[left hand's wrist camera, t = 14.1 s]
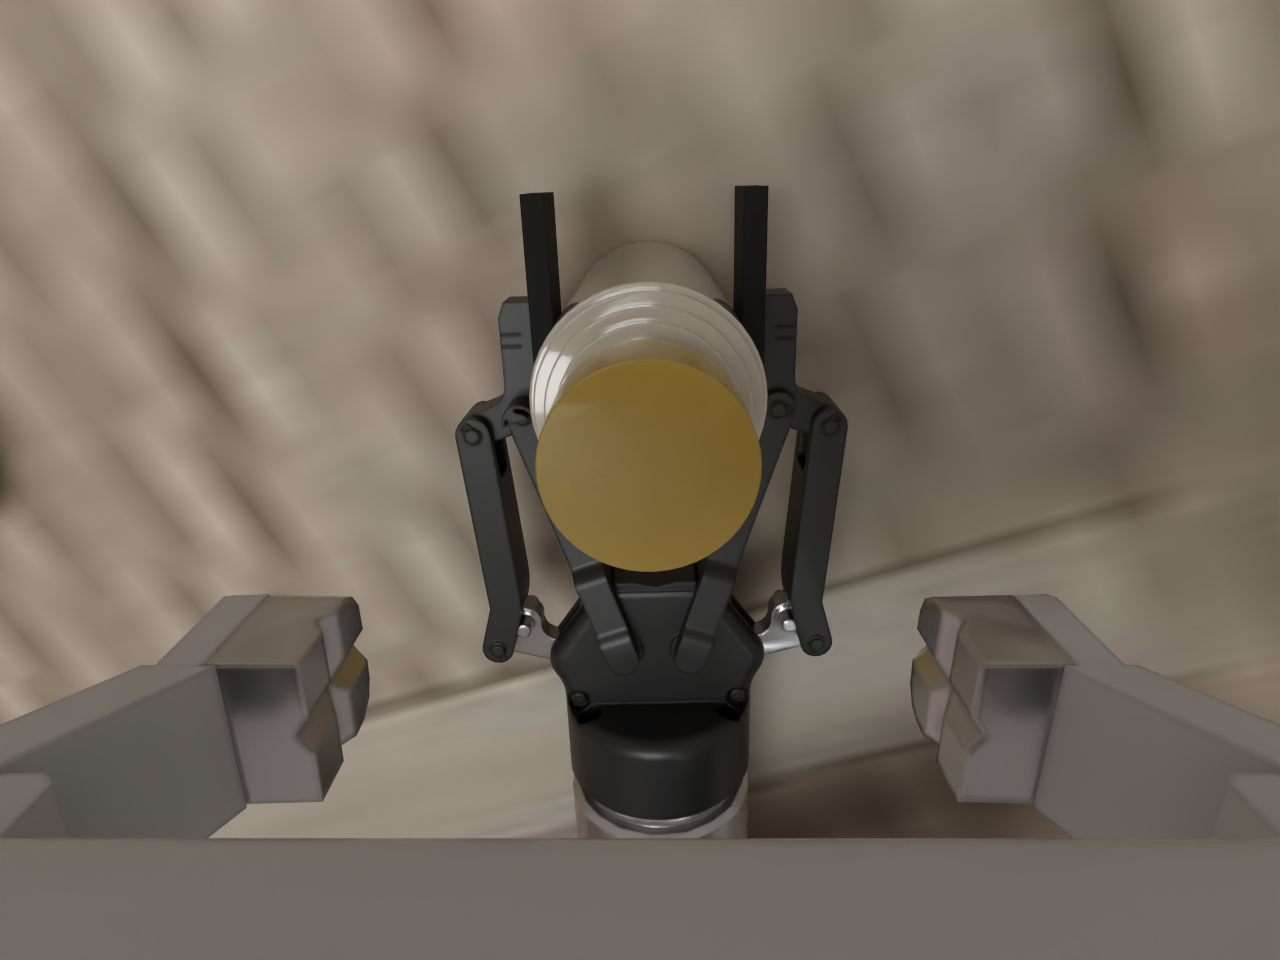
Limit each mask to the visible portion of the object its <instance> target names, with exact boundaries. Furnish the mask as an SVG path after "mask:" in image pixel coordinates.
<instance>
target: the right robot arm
mask: <svg viewBox="0 0 1280 960" xmlns="http://www.w3.org/2000/svg"><path fill="white" fill-rule="evenodd" d="M520 206H521V219H522V231H523V243H524V256H525V268H526V280H527V293H528V296H519V297H509V298H508V299H506V300H505V301H504V302H503V303H502V307H501V310H500V314H499V317H498V322H499V332H500V343H501V353H502V364H503V374H504V385H505V389H504V394H503V395H501V396H499V397H496V398H494V399H491V400H489V401H481V402H478V403H476V404H475V405H474V406H473V407H472V408H471V409H470V411H469V412H468V413H467V415H466V416H465V417H464V418H463V420H462V421H461V422H460V424H459V425H458V427H457V429H456V431H455V438H456V443H457V448H458V453H459V458H460V463H461V467H462V472H463V477H464V482H465V487H466V492H467V497H468V502H469V507H470V512H471V517H472V522H473V527H474V532H475V537H476V542H477V547H478V551H479V556H480V561H481V566H482V571H483V576H484V581H485V586H486V591H487V596H488V601H489V606H490V613H489V618H488V623H487V628H486V633H485V638H484V643H483V652H484V654H485V656H486V657H487V658H488V659H489V660H491V661H494V662H501V663H502V662H505V661H507V660H509V659H510V658H511V657H512V655H513V652H519V653H524V654H529V655H533V656H538V657H543V658H547V659H550V660H551V664H552V667H553V669H554V670H555V672H556V673H557V674H558V676H559V677H560V678H561V680H562V682H563V684H564V686H565V689H566V696H567V709H568V722H569V735H570V748H571V761H572V768H573V772H574V782H573V789H574V800H575V810H576V821H577V832H578V838H747V826H748V773H747V767H748V760H749V718H750V686H751V682H752V679H753V677H754V675H755V673H756V672H757V670H758V669H759V667H760V666H761V664H762V662H763V658H764V655H766V654H770V653H774V652H778V651H782V650H785V649H789V648H793V647H797V646H801V648H802V649H803V651H804V652H805V653H806V654H808V655H811V656H820V655H823V654H825V653H826V652H827V651H828V650H829V649H830V647H831V645H832V638H831V634H830V630H829V626H828V622H827V619H826V615H825V611H824V607H823V603H822V600H823V593H824V586H825V579H826V572H827V566H828V559H829V552H830V545H831V538H832V531H833V524H834V518H835V511H836V504H837V497H838V490H839V483H840V476H841V469H842V463H843V456H844V449H845V442H846V435H847V428H848V424H847V419H846V417H845V415H844V414H843V413H842V412H841V410H840V409H839V408H838V407H837V406H836V404H835V403H834V402H833V401H832V400H831V398H830V397H829V396H828V395H826V394H825V393H822V392H812V391H809V390H806V389H803V388H801V387H798V386H797V385H796V383H795V360H796V334H797V306H796V303H795V301H794V298H793V295H792V293H790V292H789V291H788V290H787V289H785V288H779V289H766V260H767V219H768V186H760V185H751V186H735V226H734V312H735V314H736V315H737V317H738V318H739V320H740V321H741V323H742V325H743V326H744V328H745V329H746V331H747V332H748V334H749V335H750V337H751V339H752V341H753V343H754V344H755V346H756V348H757V350H758V353H759V355H760V358H761V361H762V363H763V367H764V371H765V376H766V381H767V393H768V399H767V412H766V418H765V423H764V427H763V430H762V433H761V436H760V439H759V444H760V449H761V459H762V471H761V481H760V486H759V491H758V494H757V497H756V500H755V503H754V505H753V507H752V509H751V511H750V513H749V515H748V517H747V519H746V520H745V521H744V523H743V524H742V526H741V527H740V529H739V530H738V531H737V532H736V533H735V534H734V535H733V537H732V538H731V539H730V540H728V541H727V542H726V543H725V544H724V545H723V546H722V547H720V548H719V549H718V550H716V551H715V552H713V553H712V554H710V555H709V556H707V557H705V558H703V559H701V560H699V561H697V562H695V563H692V564H689V565H686V566H684V567H680V568H676V569H672V570H665V571H657V572H640V571H632V570H625V569H621V568H617V567H613V566H610V565H608V564H605V563H602V562H600V561H598V560H596V559H594V558H592V557H590V556H588V555H587V554H585V553H584V552H582V551H581V550H579V549H578V548H577V547H575V546H574V545H573V544H572V543H571V542H570V541H569V540H567V539H566V538H565V537H564V535H563V534H562V533H561V532H560V531H559V530H558V529H557V527H556V526H555V524H554V523H553V521H552V520H551V519H550V517H549V515H548V513H547V511H546V509H545V507H544V505H543V503H542V505H543V507H544V509H545V511H546V514H547V516H548V518H549V520H550V523H551V525H552V527H553V530H554V532H555V534H556V536H557V539H558V541H559V543H560V545H561V548H562V550H563V552H564V554H565V557H566V559H567V561H568V564H569V566H570V568H571V571H572V574H573V580H574V585H575V588H576V591H577V593H578V595H579V597H580V598H579V599H578V600H577V602H576V603H575V604H574V606H573V607H572V608H571V610H570V611H569V612H568V614H567V615H566V617H565V618H564V619H563V621H562V622H561V623H560V625H559V626H558V627H557V626H554V625H552V624H550V623H549V622H548V621H547V620H546V618H545V615H544V607H543V605H542V603H541V602H540V601H539V600H538V598H537V597H536V596H534V595H528V592H529V579H530V576H529V567H528V561H527V555H526V550H525V544H524V538H523V533H522V527H521V522H520V516H519V511H518V505H517V499H516V494H515V488H514V483H513V477H512V471H511V466H510V460H509V455H508V449H507V444H506V437H509V436H511V435H512V437H513V439H514V441H515V444H516V446H517V448H518V450H519V453H520V455H521V457H522V459H523V462H524V464H525V466H526V468H527V471H528V473H529V475H530V477H531V480H532V482H533V484H534V487H535V489H536V491H537V493H538V496H539V498H540V500H541V497H540V494H539V491H538V486H537V481H536V470H535V459H536V449H537V445H538V439H537V436H536V433H535V430H534V427H533V424H532V418H531V413H530V401H529V392H530V380H531V376H532V371H533V367H534V363H535V361H536V358H537V355H538V353H539V350H540V348H541V346H542V345H543V343H544V341H545V339H546V337H547V335H548V334H549V332H550V331H551V329H552V328H553V326H554V324H555V323H556V321H557V320H558V318H559V317H560V315H561V299H560V284H559V269H558V254H557V239H556V224H555V209H554V194H553V192H546V193H528V194H520ZM790 428H792V429H796V430H797V438H796V446H795V455H794V463H793V471H792V479H791V487H790V495H789V504H788V512H787V520H786V528H785V536H784V544H783V553H782V562H781V577H782V584H783V589H784V590H777V591H775V592H774V594H773V596H772V597H771V598H770V599H769V602H768V612H767V615H766V616H765V617H764V618H763V619H762V620H761V621H758V622H756V623H755V622H754V621H753V619H752V618H751V617H750V616H749V614H748V613H747V612H746V611H745V610H744V608H743V607H742V606H741V605H740V604H739V602H738V601H737V600H736V599H735V598H734V596H733V595H732V594H731V592H732V590H733V587H734V584H735V579H736V571H737V567H738V564H739V561H740V558H741V556H742V553H743V550H744V548H745V545H746V542H747V540H748V537H749V535H750V532H751V529H752V527H753V524H754V521H755V519H756V516H757V513H758V511H759V508H760V505H761V503H762V500H763V497H764V495H765V492H766V490H767V487H768V484H769V482H770V479H771V476H772V474H773V471H774V468H775V466H776V463H777V460H778V458H779V455H780V452H781V450H782V447H783V444H784V442H785V439H786V437H787V434H788V431H789V429H790ZM541 502H542V500H541Z"/></svg>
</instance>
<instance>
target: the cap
mask: <svg viewBox="0 0 1280 960" xmlns="http://www.w3.org/2000/svg"><path fill="white" fill-rule="evenodd" d="M535 470H536V481H537V486H538V491H539V494H540V497H541V500H542V503H543V505H544V507H545V509H546V511H547V513H548V515H549V517H550V519H551V520H552V521H553V523H554V524H555V526H556V527H557V529H558V530H559V531H560V532H561V533H562V534H563V535H564V537H565V538H566V539H567V540H569V541H570V542H571V543H572V544H573V545H574V546H575V547H577V548H578V549H579V550H581V551H582V552H584V553H585V554H587V555H588V556H590V557H592V558H594V559H596V560H598V561H600V562H602V563H605V564H608V565H610V566H613V567H617V568H621V569H625V570H632V571H640V572H657V571H665V570H672V569H676V568H680V567H684V566H686V565H689V564H692V563H695V562H697V561H699V560H701V559H703V558H705V557H707V556H709V555H710V554H712V553H713V552H715V551H716V550H718V549H719V548H720V547H722V546H723V545H724V544H725V543H726V542H727V541H728V540H730V539H731V538H732V537H733V535H734V534H735V533H736V532H737V531H738V530H739V529H740V527H741V526H742V524H743V523H744V521H745V520H746V519H747V517H748V515H749V513H750V511H751V509H752V507H753V505H754V503H755V500H756V497H757V494H758V491H759V486H760V481H761V471H762V459H761V449H760V444H759V440H758V436H757V433H756V430H755V428H754V425H753V423H752V420H751V418H750V416H749V413H748V411H747V409H746V406H745V404H744V401H743V399H742V397H741V395H740V393H739V391H738V389H737V388H736V386H735V384H734V383H733V382H732V380H731V379H730V378H729V376H728V375H727V374H726V373H725V372H724V371H723V370H722V369H721V368H720V367H719V366H718V365H717V364H716V363H715V362H713V361H712V360H711V359H710V358H708V357H707V356H705V355H703V354H702V353H700V352H698V351H697V350H695V349H692V348H690V347H687V346H685V345H683V344H679V343H675V342H671V341H666V340H658V339H639V340H631V341H626V342H622V343H618V344H615V345H612V346H610V347H607V348H605V349H602V350H600V351H599V352H597V353H595V354H594V355H592V356H590V357H589V358H588V359H586V360H585V361H584V362H582V363H581V364H580V365H579V366H578V367H577V368H576V369H575V370H574V371H573V372H572V373H571V374H570V375H569V376H568V378H567V379H566V380H565V382H564V383H563V384H562V386H561V388H560V389H559V391H558V393H557V395H556V397H555V399H554V401H553V404H552V406H551V409H550V411H549V413H548V416H547V418H546V420H545V423H544V425H543V428H542V431H541V433H540V436H539V440H538V445H537V449H536V459H535Z"/></svg>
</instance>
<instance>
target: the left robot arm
mask: <svg viewBox="0 0 1280 960" xmlns="http://www.w3.org/2000/svg"><path fill="white" fill-rule="evenodd" d="M362 629H363V628H362V622H361V616H360V611H359V605H358V604H357V603H356V601H355V600H354V599H353V597H341V596H287V595H273V596H271V595H269V594H262V595H233V596H224V597H223V598H222V599H221V600H220V601H219V602H218V603H217V604H216V605H215V606H214V607H213V608H212V609H211V610H210V611H209V612H208V613H207V614H206V615H205V616H204V617H203V618H202V619H201V620H200V621H199V622H198V623H197V624H196V625H195V626H194V627H193V628H192V629H191V630H190V631H189V632H188V633H187V634H186V635H185V636H184V637H183V638H182V639H181V640H180V641H179V642H178V643H177V644H176V645H175V646H174V647H173V648H172V649H171V650H170V651H169V652H168V653H167V654H166V655H165V656H164V657H163V658H162V659H161V660H160V661H159V662H158V663H157V664H156V665H141V666H139V667H136V668H134V669H132V670H129V671H127V672H125V673H122V674H120V675H117V676H115V677H113V678H110V679H108V680H106V681H103V682H101V683H99V684H96V685H94V686H91V687H89V688H87V689H84V690H82V691H80V692H77V693H75V694H73V695H70V696H68V697H65V698H63V699H61V700H58V701H56V702H54V703H51V704H49V705H47V706H44V707H42V708H39V709H37V710H35V711H32V712H30V713H28V714H25V715H23V716H21V717H18V718H16V719H13V720H11V721H9V722H6V723H4V724H2V725H0V960H1280V725H1278V724H1276V723H1273V722H1271V721H1269V720H1266V719H1264V718H1261V717H1259V716H1257V715H1254V714H1252V713H1250V712H1247V711H1245V710H1243V709H1240V708H1238V707H1236V706H1233V705H1231V704H1228V703H1226V702H1224V701H1221V700H1219V699H1217V698H1214V697H1212V696H1210V695H1207V694H1205V693H1203V692H1200V691H1198V690H1195V689H1193V688H1191V687H1188V686H1186V685H1184V684H1181V683H1179V682H1177V681H1174V680H1172V679H1170V678H1167V677H1165V676H1162V675H1160V674H1158V673H1155V672H1153V671H1151V670H1148V669H1146V668H1144V667H1141V666H1139V665H1124V664H1123V663H1122V662H1121V661H1120V660H1119V659H1118V658H1117V657H1116V656H1115V655H1114V654H1113V653H1112V652H1111V651H1110V650H1109V649H1108V648H1107V647H1106V646H1105V645H1104V644H1103V643H1102V642H1101V641H1100V640H1099V639H1098V638H1097V637H1096V636H1095V635H1094V634H1093V633H1092V632H1091V631H1090V630H1089V629H1088V628H1087V627H1086V626H1085V625H1084V624H1083V623H1082V622H1081V621H1080V620H1079V619H1078V618H1077V617H1076V616H1075V615H1074V614H1073V613H1072V612H1071V611H1070V610H1069V609H1068V608H1067V607H1066V606H1065V605H1064V604H1063V603H1062V602H1061V601H1060V600H1059V599H1058V598H1057V597H1054V596H1051V595H1048V594H1039V595H1017V596H1013V595H996V596H954V597H931V598H926V599H925V600H924V602H923V605H922V607H921V610H920V615H919V621H918V627H917V629H918V631H919V632H920V634H921V636H922V637H923V639H924V641H925V642H926V644H927V645H926V646H925V647H924V648H923V650H922V651H921V652H920V653H919V654H918V655H917V656H916V657H915V658H914V659H913V663H912V672H911V681H910V686H911V698H912V707H913V710H914V714H915V717H916V721H917V723H918V725H919V727H920V729H921V731H922V733H923V735H924V736H925V737H927V738H928V739H930V740H931V741H933V742H934V743H936V744H937V745H939V748H938V754H937V763H938V765H939V767H940V769H941V771H942V773H943V775H944V777H945V778H946V780H947V782H948V784H949V786H950V788H951V790H952V792H953V794H954V796H955V798H956V800H957V802H984V803H1021V804H1034V805H1033V807H1034V808H1035V809H1036V810H1037V811H1039V812H1040V813H1041V814H1042V815H1044V816H1045V817H1046V818H1048V819H1049V820H1050V821H1051V822H1053V823H1054V824H1055V825H1056V826H1058V827H1059V828H1060V829H1062V830H1063V831H1064V832H1065V833H1067V834H1068V835H1069V836H1070V837H1072V838H209V837H210V836H211V835H212V834H214V833H215V832H216V831H217V830H219V829H220V828H221V827H223V826H224V825H225V824H226V823H228V822H229V821H230V820H232V819H233V818H234V817H235V816H237V815H238V814H239V813H240V812H242V811H243V810H244V809H246V807H247V806H246V804H259V803H294V802H323V800H324V798H325V796H326V794H327V792H328V790H329V788H330V786H331V784H332V782H333V780H334V778H335V777H336V775H337V773H338V771H339V769H340V767H341V765H342V763H343V754H342V748H341V745H343V744H344V743H346V742H347V741H349V740H350V739H352V738H353V737H355V736H356V735H357V733H358V731H359V729H360V727H361V725H362V723H363V721H364V718H365V714H366V709H367V704H368V700H369V670H368V662H367V659H366V658H365V657H364V656H363V655H362V654H361V653H360V652H359V651H358V650H357V648H356V647H355V646H354V645H353V644H354V642H355V641H356V639H357V637H358V636H359V634H360V632H361V631H362Z"/></svg>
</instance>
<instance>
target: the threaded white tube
mask: <svg viewBox="0 0 1280 960" xmlns="http://www.w3.org/2000/svg"><path fill="white" fill-rule="evenodd" d="M639 339H658V340H666V341H671V342H675V343H679V344H683V345H685V346H687V347H690V348H692V349H695V350H697V351H698V352H700V353H702V354H703V355H705V356H707V357H708V358H710V359H711V360H712V361H713V362H715V363H716V364H717V365H718V366H719V367H720V368H721V369H722V370H723V371H724V372H725V373H726V374H727V375H728V376H729V378H730V379H731V380H732V382H733V383H734V384H735V386H736V388H737V389H738V391H739V393H740V395H741V397H742V399H743V401H744V404H745V406H746V409H747V411H748V413H749V416H750V418H751V420H752V423H753V425H754V428H755V430H756V433H757V436H758V440H759V439H760V436H761V433H762V430H763V427H764V423H765V418H766V412H767V399H768V393H767V381H766V376H765V371H764V367H763V363H762V361H761V358H760V355H759V353H758V350H757V348H756V346H755V344H754V343H753V341H752V339H751V337H750V335H749V334H748V332H747V331H746V329H745V328H744V326H743V325H742V323H741V321H740V320H739V318H738V317H737V315H736V314H735V312H734V311H733V309H732V307H731V306H730V304H729V303H728V301H727V300H726V298H725V297H724V295H723V293H722V292H721V290H720V289H719V287H718V286H717V284H716V283H715V281H714V280H713V278H712V276H711V275H710V274H709V272H708V271H707V269H706V268H705V267H704V266H703V265H702V264H701V263H700V262H699V261H698V260H697V259H696V258H695V257H694V256H692V255H691V254H690V253H688V252H686V251H685V250H683V249H681V248H679V247H676V246H674V245H671V244H668V243H664V242H657V241H639V242H633V243H629V244H626V245H623V246H620V247H618V248H616V249H614V250H612V251H610V252H609V253H607V254H606V255H604V256H603V257H602V258H601V259H599V260H598V261H597V262H596V263H595V264H594V265H593V267H592V268H591V269H590V270H589V272H588V273H587V274H586V276H585V277H584V279H583V281H582V282H581V284H580V285H579V287H578V288H577V290H576V292H575V293H574V295H573V296H572V298H571V299H570V301H569V303H568V304H567V306H566V307H565V309H564V310H563V312H562V314H561V315H560V317H559V318H558V320H557V321H556V323H555V324H554V326H553V328H552V329H551V331H550V332H549V334H548V335H547V337H546V339H545V341H544V343H543V345H542V346H541V348H540V350H539V353H538V355H537V358H536V361H535V363H534V367H533V371H532V376H531V380H530V392H529V401H530V413H531V418H532V424H533V427H534V430H535V433H536V436H537V439H538V440H539V436H540V433H541V431H542V428H543V425H544V423H545V420H546V418H547V416H548V413H549V411H550V409H551V406H552V404H553V401H554V399H555V397H556V395H557V393H558V391H559V389H560V388H561V386H562V384H563V383H564V382H565V380H566V379H567V378H568V376H569V375H570V374H571V373H572V372H573V371H574V370H575V369H576V368H577V367H578V366H579V365H580V364H581V363H582V362H584V361H585V360H586V359H588V358H589V357H590V356H592V355H594V354H595V353H597V352H599V351H600V350H602V349H605V348H607V347H610V346H612V345H615V344H618V343H622V342H626V341H631V340H639Z"/></svg>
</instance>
